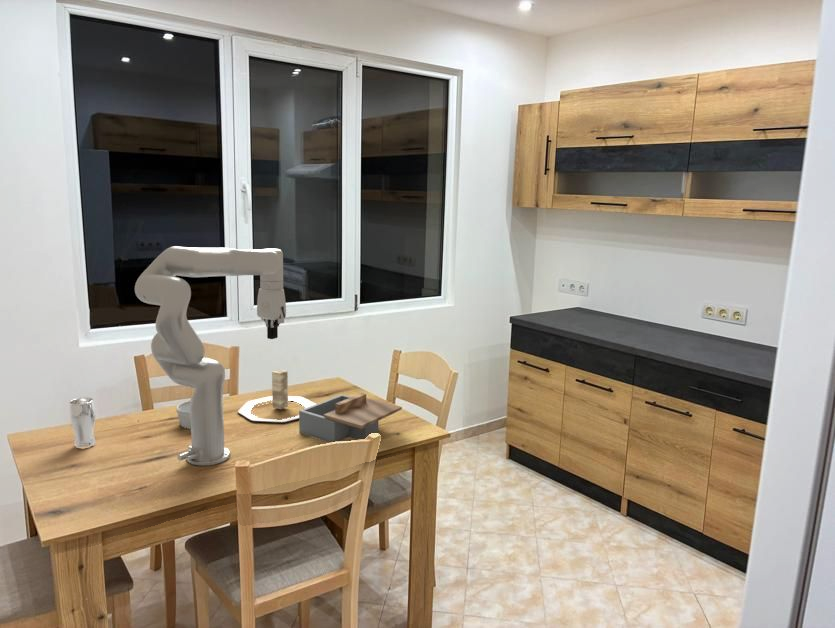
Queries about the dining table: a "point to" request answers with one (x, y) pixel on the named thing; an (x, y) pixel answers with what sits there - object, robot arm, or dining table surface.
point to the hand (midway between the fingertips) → (272, 338)
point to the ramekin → (184, 414)
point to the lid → (361, 411)
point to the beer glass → (83, 421)
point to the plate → (250, 404)
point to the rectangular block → (280, 389)
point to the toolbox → (330, 423)
